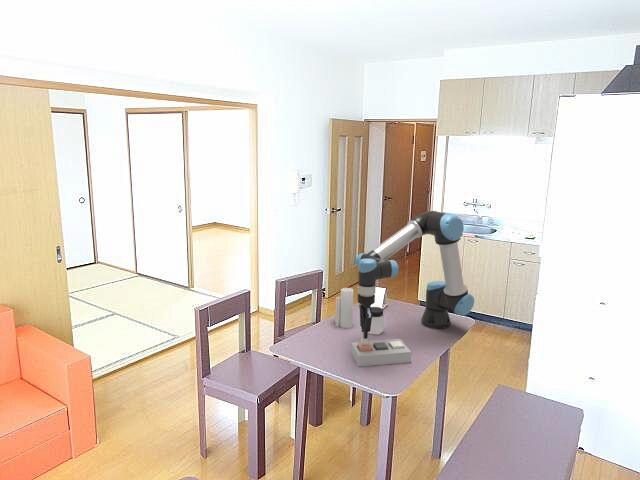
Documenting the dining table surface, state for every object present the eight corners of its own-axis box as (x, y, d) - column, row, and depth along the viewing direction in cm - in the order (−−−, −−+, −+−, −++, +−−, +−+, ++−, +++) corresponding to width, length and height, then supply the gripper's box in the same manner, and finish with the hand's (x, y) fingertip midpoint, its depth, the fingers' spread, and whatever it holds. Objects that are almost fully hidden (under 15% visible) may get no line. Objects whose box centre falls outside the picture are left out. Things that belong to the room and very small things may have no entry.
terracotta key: (368, 347, 215) (368, 341, 215) (371, 352, 211) (371, 346, 210) (357, 348, 214) (357, 342, 214) (360, 353, 210) (360, 347, 209)
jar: (363, 329, 245) (364, 307, 243) (377, 327, 249) (377, 305, 246) (371, 336, 237) (372, 313, 235) (385, 333, 241) (386, 311, 238)
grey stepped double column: (355, 325, 250) (356, 289, 246) (346, 329, 245) (347, 292, 241) (338, 320, 258) (339, 285, 253) (330, 323, 252) (330, 288, 248)
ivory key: (399, 347, 218) (399, 341, 218) (403, 351, 214) (403, 345, 213) (389, 347, 217) (389, 341, 217) (392, 352, 213) (393, 346, 212)
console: (399, 348, 224) (400, 338, 223) (410, 362, 210) (411, 351, 209) (350, 352, 219) (350, 342, 218) (358, 366, 206) (359, 356, 205)
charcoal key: (383, 348, 217) (384, 342, 216) (387, 353, 212) (387, 346, 212) (373, 349, 216) (373, 343, 215) (376, 354, 211) (377, 347, 211)
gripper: (354, 289, 212) (352, 338, 217) (362, 299, 200) (360, 351, 205) (370, 288, 214) (368, 337, 219) (379, 298, 201) (377, 349, 206)
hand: (364, 344), depth 212 cm, fingers closed
